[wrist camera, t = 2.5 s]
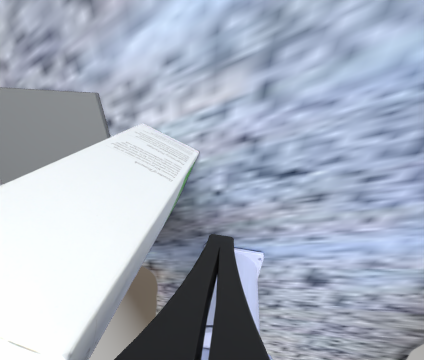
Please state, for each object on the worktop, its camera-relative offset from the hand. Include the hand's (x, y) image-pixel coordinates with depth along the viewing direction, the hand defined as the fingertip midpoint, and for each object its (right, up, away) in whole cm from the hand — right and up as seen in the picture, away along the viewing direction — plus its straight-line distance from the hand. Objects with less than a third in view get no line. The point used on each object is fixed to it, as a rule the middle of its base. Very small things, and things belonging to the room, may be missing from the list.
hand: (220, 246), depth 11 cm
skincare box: (-6, +6, +9) cm, 12 cm away
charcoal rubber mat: (-20, +7, +10) cm, 23 cm away
